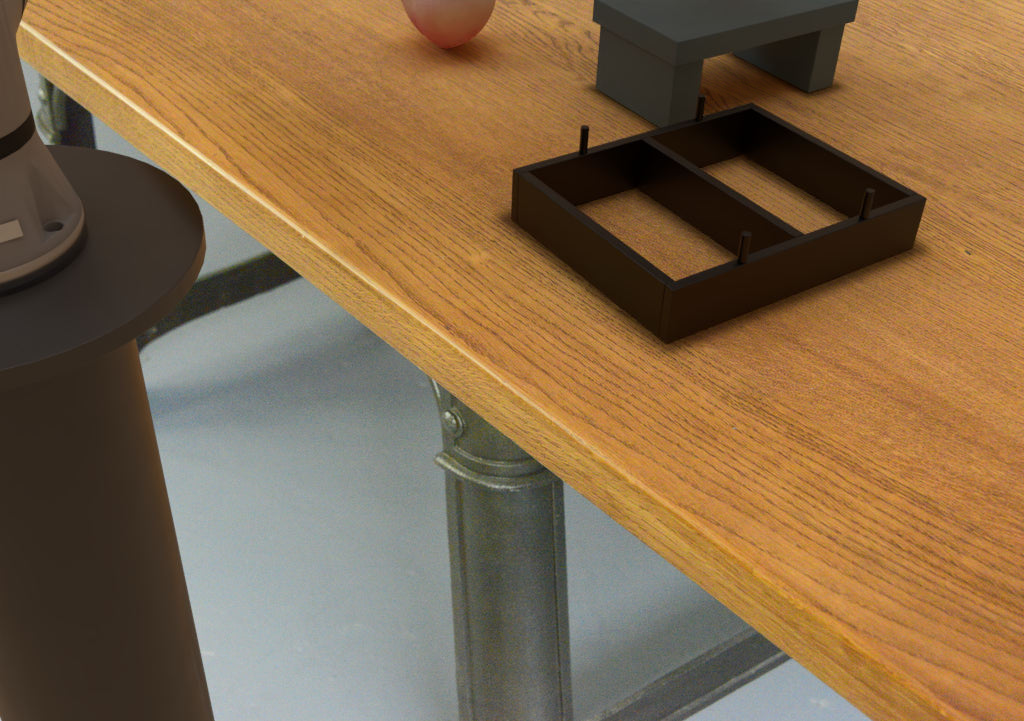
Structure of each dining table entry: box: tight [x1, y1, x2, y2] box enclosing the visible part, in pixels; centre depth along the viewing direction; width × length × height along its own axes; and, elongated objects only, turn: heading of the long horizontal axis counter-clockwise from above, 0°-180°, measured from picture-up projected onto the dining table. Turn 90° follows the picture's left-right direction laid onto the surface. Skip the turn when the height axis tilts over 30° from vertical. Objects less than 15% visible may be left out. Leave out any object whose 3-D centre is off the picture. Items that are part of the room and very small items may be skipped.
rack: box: [510, 93, 928, 345], centre depth 80 cm, size 18×22×6 cm
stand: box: [591, 0, 860, 128], centre depth 99 cm, size 11×20×8 cm, turn 123°
